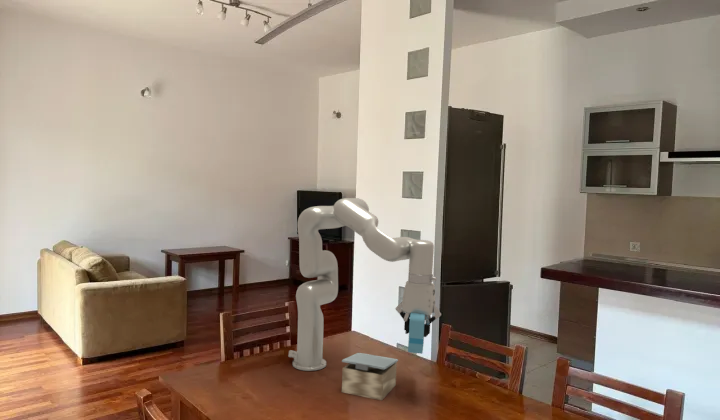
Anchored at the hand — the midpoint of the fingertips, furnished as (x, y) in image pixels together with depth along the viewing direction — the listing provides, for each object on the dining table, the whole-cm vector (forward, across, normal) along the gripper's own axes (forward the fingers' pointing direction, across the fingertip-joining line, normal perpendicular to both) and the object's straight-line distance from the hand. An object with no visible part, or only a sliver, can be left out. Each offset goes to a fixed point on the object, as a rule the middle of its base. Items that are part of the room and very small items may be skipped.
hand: (416, 333), depth 164 cm
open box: (+21, +15, 0) cm, 26 cm away
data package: (+5, 0, 0) cm, 5 cm away
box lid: (+13, +15, +1) cm, 20 cm away
